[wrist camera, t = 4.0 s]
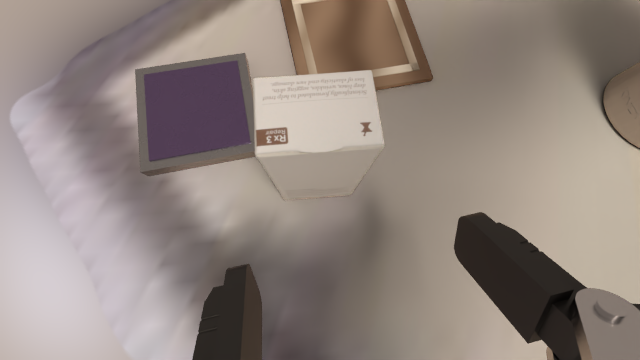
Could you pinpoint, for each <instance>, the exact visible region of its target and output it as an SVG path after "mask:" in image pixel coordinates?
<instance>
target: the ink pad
mask: <svg viewBox="0 0 640 360" xmlns="http://www.w3.org/2000/svg"><path fill="white" fill-rule="evenodd" d="M135 74H136V94H137V114H138V134H139V154H140V172H141V173H143V174H145V175H147V176H153V175H158V174H163V173H169V172H174V171H180V170H185V169H190V168H196V167H201V166H206V165H212V164H217V163H223V162H228V161H233V160H239V159H244V158H249V157H255V141H254V106H253V89H252V84H251V78H250V72H249V66H248V61H247V58H246V55H245V53H242V54H235V55H228V56H222V57H215V58H209V59H202V60H195V61H189V62H182V63H175V64H169V65H162V66H155V67H149V68H142V69H135Z"/></svg>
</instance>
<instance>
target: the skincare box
mask: <svg viewBox="0 0 640 360" xmlns="http://www.w3.org/2000/svg"><path fill="white" fill-rule="evenodd" d="M253 106H254V141H255V156H256V158H257V159H258V160H259V162H260V163H261V165H262V166H263V168H264V169H265V171H266V172H267V174H268V175H269V177H270V179H271V180H272V182H273V183H274V185H275V187H276V188H277V190H278V191H279V193H280V194H281V196H282V198H283V199H284V200H298V199H311V198H323V197H336V196H348V195H351V194H352V193H353V191H354V190H355V188H356V187H357V186H358V184H359V183H360V181H361V180H362V178H363V177H364V175H365V174H366V173H367V171H368V170H369V168H370V167H371V165H372V164H373V163H374V161H375V160H376V158H377V157H378V155H379V154H380V152H381V151H382V150H383V148H384V147H385V143H384V138H383V132H382V126H381V120H380V115H379V108H378V103H377V97H376V91H375V85H374V80H373V74H372V71H371V70H363V71H351V72H337V73H323V74H308V75H292V76H278V77H262V78H254V79H253Z"/></svg>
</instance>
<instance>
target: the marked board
mask: <svg viewBox="0 0 640 360" xmlns="http://www.w3.org/2000/svg"><path fill="white" fill-rule="evenodd" d="M280 1H281V6H282V10H283V14H284V19H285V23H286V28H287V32H288V37H289V41H290V46H291V50H292V55H293V59H294V64H295V68H296V73H297V75H308V74H323V73H337V72H351V71H363V70H371V71H372V74H373V80H374V85H375V90H380V89H386V88H392V87H398V86H404V85H410V84H415V83H421V82H427V81H431V80H432V79H433V75H432V73H431V70H430V67H429V65H428V62H427V59H426V57H425V54H424V51H423V48H422V46H421V43H420V40H419V38H418V35H417V32H416V29H415V27H414V24H413V21H412V19H411V16H410V13H409V10H408V8H407V5H406V2H405V0H280Z"/></svg>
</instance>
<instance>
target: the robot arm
mask: <svg viewBox="0 0 640 360" xmlns="http://www.w3.org/2000/svg"><path fill="white" fill-rule="evenodd" d="M603 102H604V107H605V111H606V114H607V116H608V118H609V120H610V122H611V123H612V125H613V126H614V128H615V129H616V130H617V131H618V132H619V133H620V134H621V135H622V136H623V137H624V138H625V139H626V140H628V141H629V142H630V143H632V144H633V145H635V146H637V147H639V148H640V62H639V63H637V64H635V65H634V66H632V67H630V68H629V69H627V70H625V71H623V72H622V73H620V74H618V75H616V76H615V77H614V78H613V79H611V80H610V81H609V83H608V84H607V86H606V88H605V91H604V100H603ZM454 250H455V254H456V256H457V258H458V260H459V262H460V263H461V264H462V265H463V266H464V268H465V269H466V270H467V271H468V272H469V274H470V275H471V276H472V277H473V278H474V280H475V281H476V282H477V283H478V284H479V286H480V287H481V288H482V289H483V290H484V292H485V293H486V294H487V295H488V296H489V298H490V299H491V300H492V301H493V302H494V304H495V305H496V306H497V307H498V308H499V309H500V311H501V312H502V313H503V314H504V315H505V317H506V318H507V319H508V320H509V321H510V323H511V324H512V325H513V326H514V327H515V329H516V330H517V331H518V332H519V333H520V335H521V336H522V337H523V338H524V339H525V341H526V342H527V343H532V342H535V341H539V340H543V341H544V342H545V343H546V345H547V346H548V347H547V350H546V355H547V360H640V304H631V303H630V302H628V301H627V300H625V299H623V298H621V297H620V296H618V295H615V294H613V293H610V292H608V291H604V290H601V289H594V288H586V287H585V286H584V285H582V284H581V283H580V282H579V281H577V280H576V279H575V278H574V277H572V276H571V275H570V274H569V273H568V272H566V271H565V270H564V269H563V268H561V267H560V266H559V265H558V264H556V263H555V262H554V261H553V260H551V259H550V258H549V257H548V256H546V255H545V254H544V253H543V252H542V251H541V252H540V251H539V250H538V248H537V247H535V246H534V245H533V244H532V243H529V242H528V240H527V239H525V238H524V237H523V236H522V235H520V234H519V233H518V232H517V231H515V230H514V229H512V228H509V227H507V226H505V225H503V224H501V223H495V222H494V221H493V220H492V219H491V218H489V217H488V216H487V215H486V214H484V213H482V212H479V213H475V214H471V215H466V216H462V217H460V218H459V221H458V226H457V232H456V238H455V244H454ZM201 319H202V320H201V321H200V326H199V334H198V336H197V340H196V345H195V350H194V354H193V359H192V360H262V302H261V296H260V291H259V289H258V286H257V283H256V280H255V278H254V275H253V272H252V269H251V267H250V265H249V264H246V265H241V266H237V267H232V268H228V269H227V270H226V274H225V281H224V285H223V286H219V287H214V288H213V289H212V291H211V293H210V294H209V296H208V297H207V299H206V301H205V302H204V307H203V312H202V317H201Z"/></svg>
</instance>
